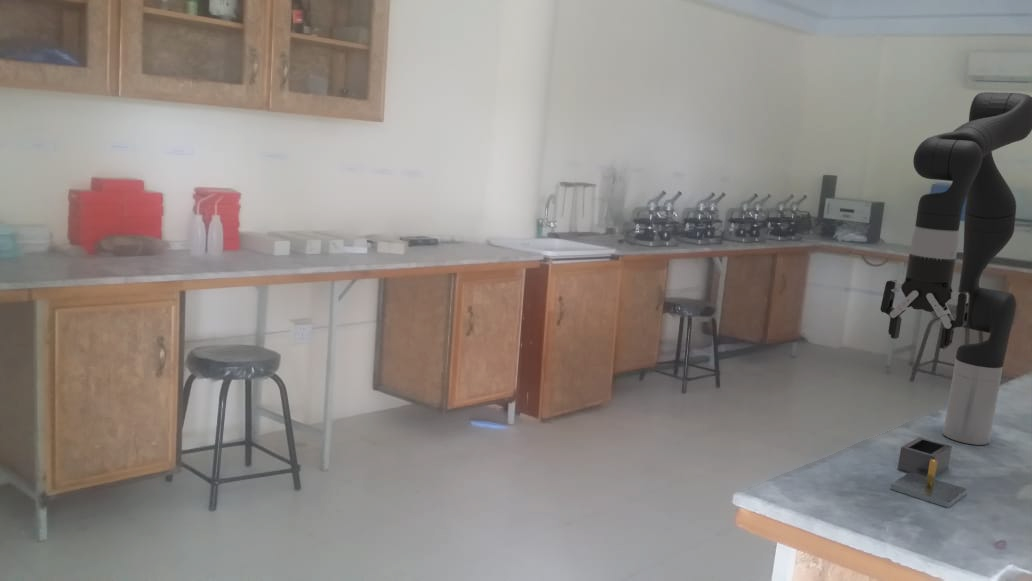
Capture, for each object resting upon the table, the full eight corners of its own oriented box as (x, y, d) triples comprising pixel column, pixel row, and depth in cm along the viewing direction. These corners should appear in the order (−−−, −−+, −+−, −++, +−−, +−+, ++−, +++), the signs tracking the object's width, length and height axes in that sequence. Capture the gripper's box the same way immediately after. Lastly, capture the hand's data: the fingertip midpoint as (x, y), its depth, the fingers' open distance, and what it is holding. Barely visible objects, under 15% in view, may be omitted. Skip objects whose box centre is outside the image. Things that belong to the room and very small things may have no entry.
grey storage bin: (915, 458, 179) (919, 437, 178) (948, 467, 175) (951, 446, 174) (897, 469, 172) (901, 447, 171) (930, 479, 168) (934, 456, 167)
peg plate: (910, 476, 168) (915, 446, 167) (966, 494, 162) (972, 462, 161) (890, 489, 161) (895, 457, 160) (948, 507, 154) (954, 475, 153)
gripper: (982, 258, 155) (967, 349, 158) (899, 247, 165) (886, 332, 168) (968, 261, 150) (953, 354, 153) (884, 249, 159) (870, 337, 162)
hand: (918, 343), depth 160 cm, fingers open, 8 cm apart
